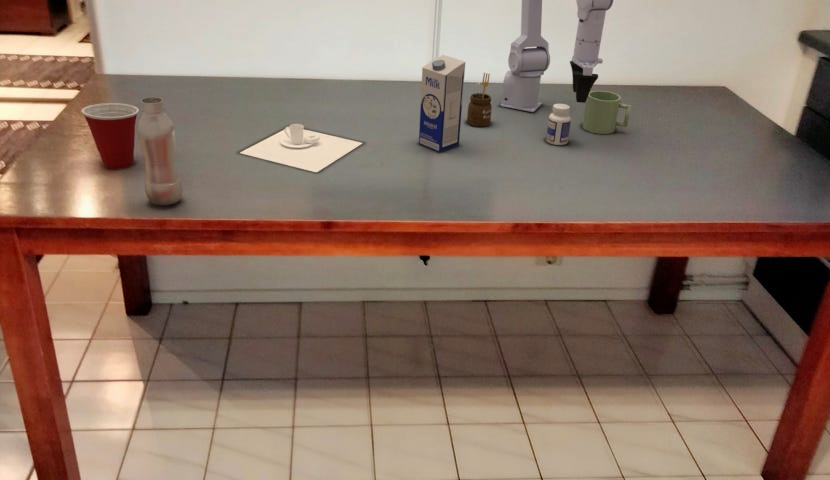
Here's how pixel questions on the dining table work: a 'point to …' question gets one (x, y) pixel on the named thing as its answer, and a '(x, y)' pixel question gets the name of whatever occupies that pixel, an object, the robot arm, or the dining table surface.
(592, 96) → the mug
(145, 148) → the plastic bottle
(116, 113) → the plastic cup
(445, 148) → the milk carton
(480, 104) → the utensil holder
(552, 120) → the pill bottle
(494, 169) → the dining table surface
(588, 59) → the robot arm
